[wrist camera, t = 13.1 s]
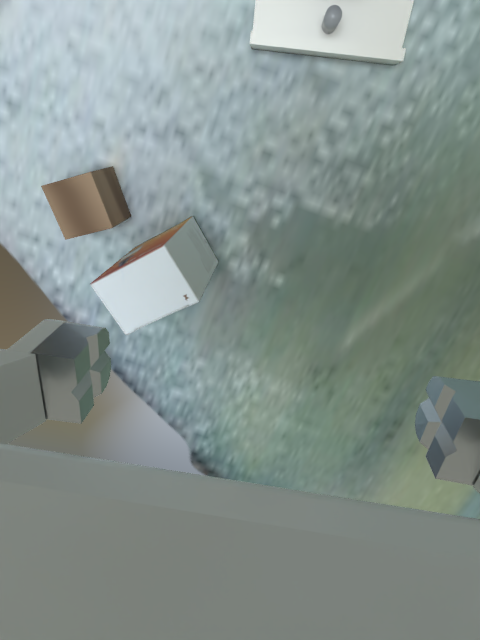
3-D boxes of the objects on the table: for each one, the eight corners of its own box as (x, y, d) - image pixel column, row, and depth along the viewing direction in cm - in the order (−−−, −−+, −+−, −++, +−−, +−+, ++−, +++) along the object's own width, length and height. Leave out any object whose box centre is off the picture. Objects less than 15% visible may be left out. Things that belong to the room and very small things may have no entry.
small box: (193, 214, 39) (165, 242, 30) (220, 262, 41) (201, 302, 32) (130, 248, 42) (86, 283, 32) (158, 291, 44) (124, 337, 34)
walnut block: (112, 166, 38) (90, 171, 34) (131, 216, 40) (112, 227, 36) (68, 178, 39) (41, 186, 35) (89, 227, 41) (65, 239, 37)
